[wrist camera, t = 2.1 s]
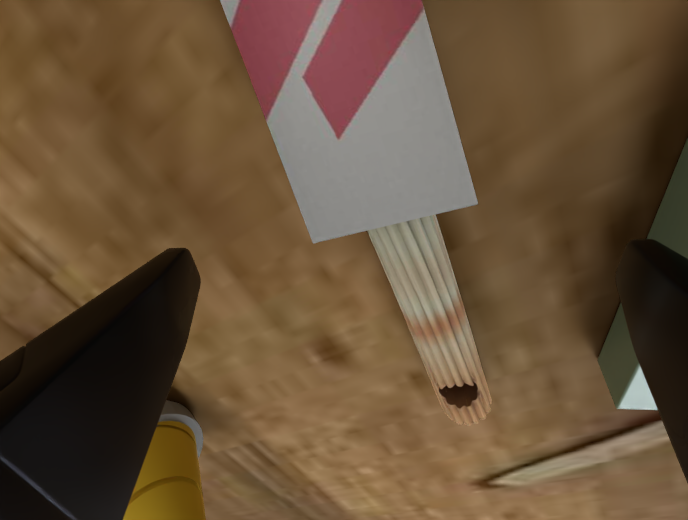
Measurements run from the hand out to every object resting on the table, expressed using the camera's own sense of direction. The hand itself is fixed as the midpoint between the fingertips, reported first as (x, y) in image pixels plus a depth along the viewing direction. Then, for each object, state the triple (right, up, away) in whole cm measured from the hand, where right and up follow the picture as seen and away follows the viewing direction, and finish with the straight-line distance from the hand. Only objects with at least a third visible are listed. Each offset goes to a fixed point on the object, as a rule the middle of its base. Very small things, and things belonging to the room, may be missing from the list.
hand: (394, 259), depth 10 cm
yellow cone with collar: (-9, -7, +12) cm, 16 cm away
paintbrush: (0, +3, +3) cm, 4 cm away
